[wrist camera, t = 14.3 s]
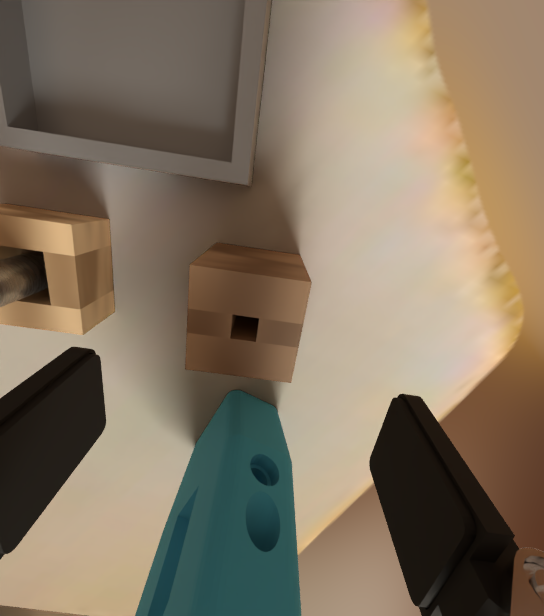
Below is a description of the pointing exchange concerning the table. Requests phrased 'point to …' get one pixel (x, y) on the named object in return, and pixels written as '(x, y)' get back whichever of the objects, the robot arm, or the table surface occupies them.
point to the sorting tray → (136, 82)
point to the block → (230, 523)
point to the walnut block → (246, 312)
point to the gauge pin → (22, 276)
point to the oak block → (60, 268)
